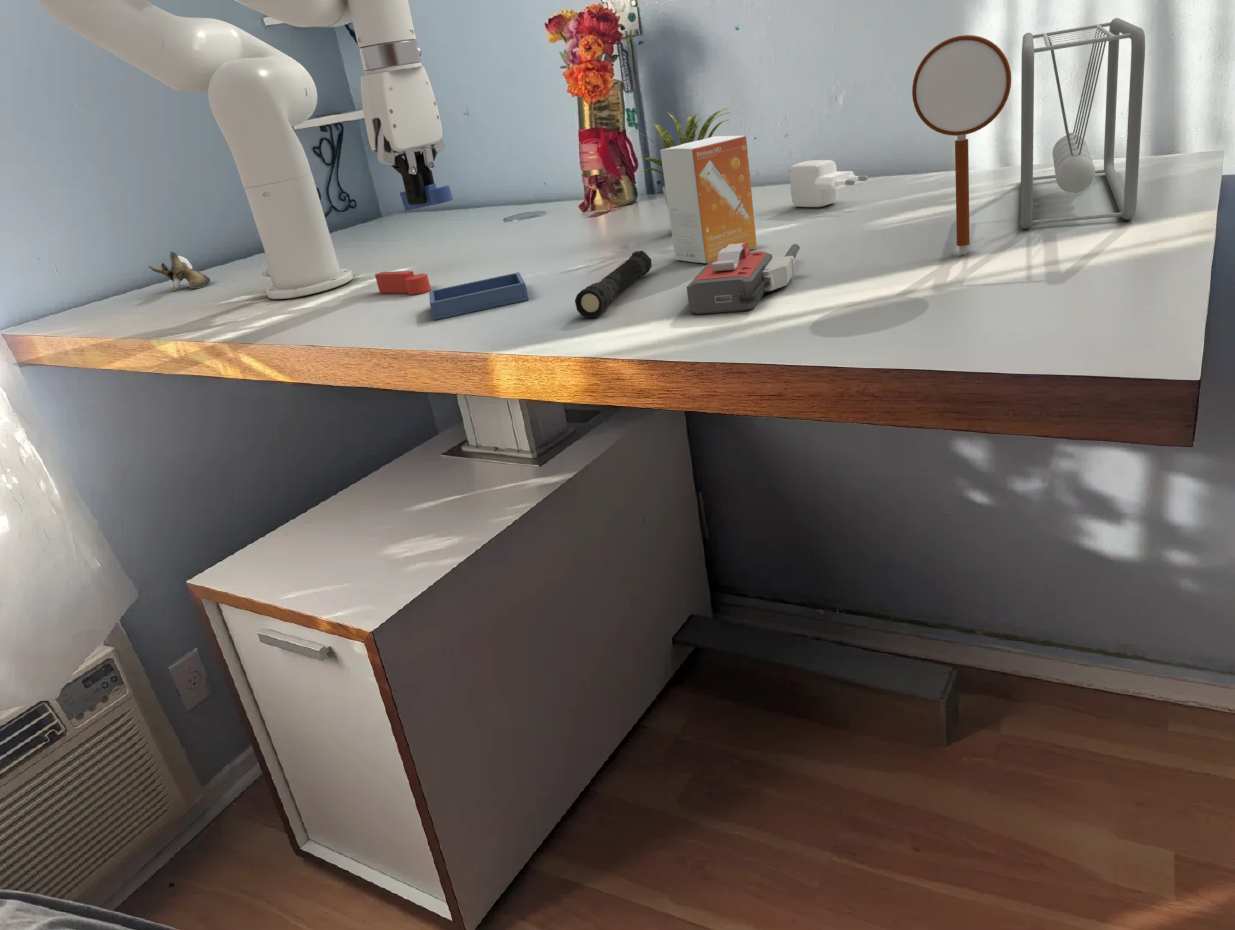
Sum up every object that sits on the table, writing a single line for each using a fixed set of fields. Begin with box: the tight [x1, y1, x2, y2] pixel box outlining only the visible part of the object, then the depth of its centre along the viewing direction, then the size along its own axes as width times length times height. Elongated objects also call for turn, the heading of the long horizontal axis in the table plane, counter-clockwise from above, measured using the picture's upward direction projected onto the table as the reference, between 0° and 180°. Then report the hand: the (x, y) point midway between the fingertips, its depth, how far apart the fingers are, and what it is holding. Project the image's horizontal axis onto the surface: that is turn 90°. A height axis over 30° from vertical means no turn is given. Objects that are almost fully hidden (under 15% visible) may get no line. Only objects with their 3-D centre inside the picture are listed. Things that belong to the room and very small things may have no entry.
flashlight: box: [574, 250, 653, 319], centre depth 100 cm, size 3×16×3 cm, turn 160°
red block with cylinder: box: [374, 270, 432, 296], centre depth 122 cm, size 8×3×3 cm, turn 57°
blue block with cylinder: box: [399, 183, 454, 212], centre depth 128 cm, size 8×3×3 cm, turn 57°
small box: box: [659, 135, 758, 264], centre depth 108 cm, size 8×6×13 cm
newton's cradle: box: [1020, 17, 1146, 230], centre depth 102 cm, size 30×10×18 cm, turn 158°
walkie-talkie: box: [686, 243, 801, 315], centre depth 93 cm, size 9×4×20 cm
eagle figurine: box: [148, 250, 211, 292], centre depth 157 cm, size 8×7×9 cm
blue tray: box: [428, 271, 529, 321], centre depth 108 cm, size 11×7×2 cm, turn 102°
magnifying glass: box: [911, 34, 1012, 256], centre depth 88 cm, size 9×2×20 cm, turn 65°
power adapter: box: [789, 159, 869, 208], centre depth 126 cm, size 11×5×6 cm, turn 37°
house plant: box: [632, 107, 731, 208], centre depth 125 cm, size 14×14×16 cm
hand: (423, 201), depth 129 cm, fingers closed on blue block with cylinder, 1 cm apart
